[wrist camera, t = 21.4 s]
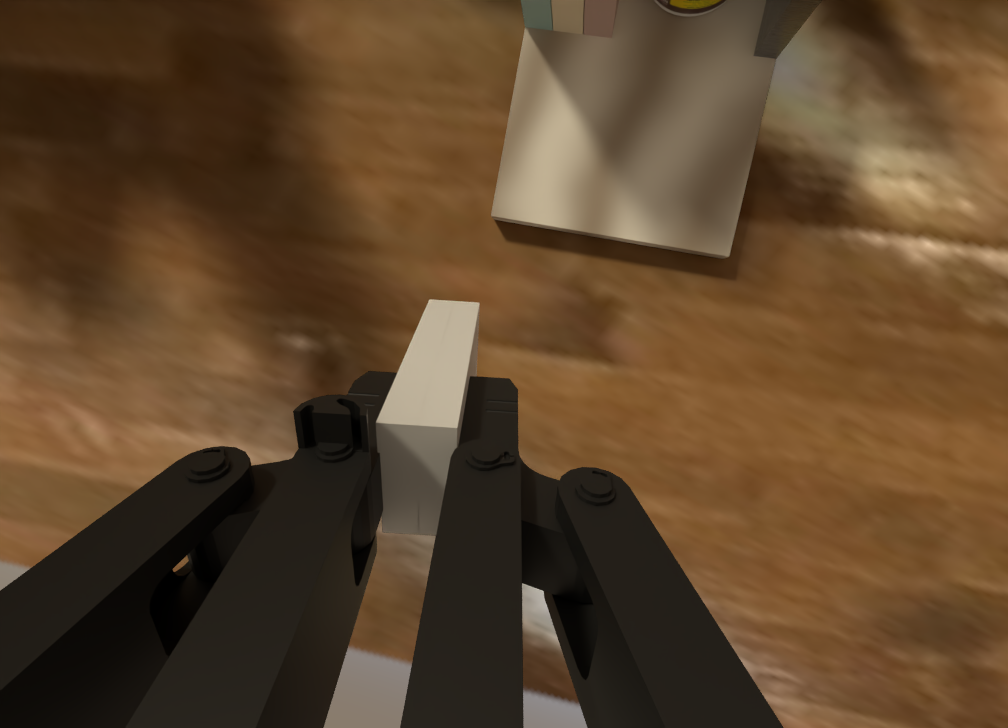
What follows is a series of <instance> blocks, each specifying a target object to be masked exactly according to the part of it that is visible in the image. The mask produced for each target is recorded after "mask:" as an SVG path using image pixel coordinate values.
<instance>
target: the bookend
mask: <svg viewBox="0 0 1008 728" xmlns="http://www.w3.org/2000/svg"><path fill="white" fill-rule="evenodd" d="M821 1H822V0H766V4H765V8H764V13H763V17H762V21H761V26H760V30H759V34H758V38H757V43H756V47H755V51H754V56H758V57H766V58H774V59H776V58H777V57H778V56H779V54H780V53H781V52H782V51H783V49H784V48H785V47H786V45H787V44H788V43H789V42H790V40H791V39H792V38H793V36H794V35H795V34H796V33H797V31H798V30H799V29H800V27H801V26H802V25H803V24H804V22H805V21H806V20H807V19H808V17H809V16H810V15H811V13H812V12H813V11H814V10H815V8H816V7H817V6H818V4H819V3H820V2H821Z"/></svg>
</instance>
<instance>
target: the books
mask: <svg viewBox="0 0 1008 728" xmlns="http://www.w3.org/2000/svg"><path fill="white" fill-rule="evenodd" d="M618 4H619V0H521V5H522V11H523V17H524V23H525V27H528V28H536V29H544V30H552V31H560V32H568V33H575V34H583V31H584V35H591V36H599V37H607V38H612V34H613V29H614V24H615V19H616V14H617V9H618Z"/></svg>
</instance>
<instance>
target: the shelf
mask: <svg viewBox="0 0 1008 728" xmlns="http://www.w3.org/2000/svg"><path fill="white" fill-rule="evenodd" d="M765 4H766V0H727V1H726V2H725V3H724V4H723V5H721V6H720V7H718V8H717V9H715V10H713V11H711V12H709V13H706V14H703V15H699V16H690V17H686V16H678V15H674V14H672V13H669V12H667V11H665V10H664V9H662V8H661V7H660V6H659V5H658V4H657V3H656V2H655V1H654V0H619V4H618V9H617V14H616V19H615V24H614V29H613V34H612V38H607V37H599V36H591V35H584V31H583V34H575V33H568V32H560V31H552V30H544V29H536V28H528V27H525V31H524V37H523V42H522V48H521V53H520V59H519V64H518V70H517V75H516V81H515V86H514V92H513V97H512V103H511V108H510V114H509V119H508V125H507V130H506V136H505V141H504V147H503V152H502V158H501V163H500V169H499V174H498V180H497V185H496V191H495V196H494V202H493V207H492V213H491V217H492V218H493V219H494V220H499V221H505V222H511V223H517V224H522V225H528V226H534V227H540V228H546V229H552V230H557V231H563V232H569V233H575V234H581V235H586V236H592V237H598V238H604V239H610V240H616V241H621V242H627V243H633V244H639V245H645V246H650V247H656V248H662V249H668V250H674V251H680V252H685V253H691V254H697V255H703V256H709V257H714V258H720V259H724V258H727V257H729V255H730V251H731V247H732V243H733V238H734V234H735V230H736V226H737V221H738V217H739V213H740V209H741V205H742V200H743V196H744V192H745V188H746V184H747V179H748V175H749V171H750V167H751V162H752V158H753V154H754V150H755V146H756V141H757V137H758V133H759V129H760V124H761V120H762V116H763V112H764V108H765V103H766V99H767V95H768V91H769V87H770V82H771V78H772V74H773V70H774V65H775V61H776V59H774V58H766V57H758V56H754V51H755V47H756V43H757V38H758V34H759V30H760V26H761V21H762V17H763V13H764V8H765Z"/></svg>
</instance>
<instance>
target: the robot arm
mask: <svg viewBox="0 0 1008 728" xmlns="http://www.w3.org/2000/svg"><path fill="white" fill-rule="evenodd" d="M479 306H480V303H476V302H461V301H445V300H430V299H429V302H428V304H427V306H426V308H425V311H424V313H423V315H422V318H421V320H420V322H419V324H418V327H417V329H416V331H415V334H414V336H413V338H412V341H411V343H410V345H409V347H408V350H407V352H406V354H405V357H404V359H403V361H402V364H401V366H400V368H399V370H398V373H391V372H375V371H368V372H367V373H365V374H364V375H363V376H361V377H360V378H358V379H357V380H355V381H354V383H353V385H352V387H351V388H350V390H349V392H348V394H347V395H346V396H345V395H326V396H321V397H317V398H313V399H311V400H309V401H306V402H304V403H302V404H301V405H299V406H298V407H297V408H296V409H295V410H294V411H293V413H294V420H295V427H296V433H297V440H298V447H299V449H298V450H297V452H296V453H295V455H294V457H293V458H292V459H289V460H285V461H280V462H274V463H267V464H260V465H253V466H251V462H250V458H249V457H248V455H247V454H246V452H245V451H242V450H240V449H238V448H235V447H225V446H220V447H211V448H206V449H203V450H200V451H196V452H193V453H190V454H189V455H187V456H185V457H183V458H182V459H180V460H178V461H176V462H175V463H174V464H172V465H171V466H170V467H168V468H167V469H166V470H164V471H163V472H161V473H160V474H159V475H157V476H156V477H155V478H153V479H152V480H151V481H149V482H148V483H146V484H145V485H144V486H142V487H141V488H140V489H138V490H137V491H136V492H134V493H133V494H131V495H130V496H129V497H127V498H126V499H125V500H123V501H122V502H121V503H119V504H118V505H117V506H115V507H114V508H112V509H111V510H110V511H108V512H107V513H106V514H104V515H103V516H102V517H100V518H99V519H97V520H96V521H95V522H93V523H92V524H91V525H89V526H88V527H87V528H85V529H84V530H82V531H81V532H80V533H78V534H77V535H76V536H74V537H73V538H72V539H70V540H69V541H67V542H66V543H65V544H63V545H62V546H61V547H59V548H58V549H57V550H55V551H54V552H52V553H51V554H50V555H48V556H47V557H46V558H44V559H43V560H42V561H40V562H39V563H37V564H36V565H35V566H33V567H32V568H31V569H29V570H28V571H27V572H25V573H24V574H22V575H21V576H20V577H18V578H17V579H16V580H14V581H13V582H12V583H10V584H9V585H8V586H6V587H5V588H3V589H2V590H1V591H0V728H323V727H324V724H325V720H326V717H327V714H328V711H329V707H330V704H331V701H332V698H333V694H334V691H335V688H336V685H337V681H338V678H339V675H340V671H341V668H342V665H343V661H344V658H345V655H346V652H347V648H348V645H349V642H350V638H351V635H352V632H353V629H354V625H355V622H356V619H357V615H358V612H359V609H360V606H361V602H362V599H363V596H364V592H365V589H366V586H367V583H368V579H369V576H370V573H371V569H372V566H373V563H374V560H375V556H376V552H377V538H376V530H377V527H378V524H379V521H380V518H381V515H382V531H383V532H384V533H400V534H416V535H433V536H436V539H435V544H434V549H433V555H432V560H431V566H430V571H429V576H428V582H427V587H426V592H425V598H424V603H423V608H422V614H421V619H420V625H419V630H418V635H417V641H416V646H415V651H414V657H413V662H412V667H411V673H410V678H409V684H408V689H407V694H406V700H405V706H404V711H403V716H402V721H401V726H400V728H523V645H522V583H524V584H526V585H529V586H532V587H535V588H537V589H540V590H543V591H544V598H545V601H546V604H547V607H548V610H549V613H550V616H551V619H552V622H553V625H554V628H555V631H556V634H557V637H558V640H559V643H560V646H561V649H562V652H563V655H564V658H565V661H566V664H567V667H568V670H569V673H570V676H571V679H572V682H573V685H574V688H575V691H576V694H577V697H578V700H579V703H580V706H581V709H582V712H583V715H584V718H585V721H586V724H587V727H588V728H783V726H782V724H781V723H780V721H779V720H778V718H777V717H776V715H775V713H774V712H773V710H772V709H771V707H770V706H769V704H768V703H767V701H766V699H765V698H764V696H763V695H762V693H761V692H760V690H759V689H758V687H757V685H756V684H755V682H754V681H753V679H752V678H751V676H750V674H749V673H748V671H747V670H746V668H745V667H744V665H743V664H742V662H741V660H740V659H739V657H738V656H737V654H736V653H735V651H734V649H733V648H732V646H731V645H730V643H729V642H728V640H727V639H726V637H725V635H724V634H723V632H722V631H721V629H720V628H719V626H718V624H717V623H716V621H715V620H714V618H713V617H712V615H711V614H710V612H709V610H708V609H707V607H706V606H705V604H704V603H703V601H702V600H701V598H700V596H699V595H698V593H697V592H696V590H695V589H694V587H693V585H692V584H691V582H690V581H689V579H688V578H687V576H686V575H685V573H684V571H683V570H682V568H681V567H680V565H679V564H678V562H677V560H676V559H675V557H674V556H673V554H672V553H671V551H670V550H669V548H668V546H667V545H666V543H665V542H664V540H663V539H662V537H661V536H660V534H659V532H658V531H657V529H656V528H655V526H654V525H653V523H652V521H651V520H650V518H649V517H648V515H647V514H646V512H645V511H644V509H643V507H642V506H641V504H640V503H639V501H638V500H637V498H636V496H635V495H634V493H633V492H632V490H631V489H630V487H629V486H628V485H627V484H626V483H625V482H624V481H623V480H622V479H621V478H620V477H618V476H616V475H614V474H613V473H611V472H609V471H606V470H602V469H598V468H589V467H581V468H577V469H573V470H570V471H568V472H567V473H566V474H564V475H563V476H562V477H561V479H560V481H559V480H556V479H553V478H549V477H546V476H544V475H541V474H539V473H537V472H535V471H533V470H532V469H530V468H529V467H528V466H527V465H526V464H525V463H523V461H522V459H521V458H520V456H519V451H518V389H517V388H516V387H515V385H514V384H513V383H512V381H511V380H510V379H507V378H491V377H476V376H477V352H478V329H479ZM186 555H187V556H188V559H189V561H188V562H187V563H186V564H185V565H184V566H183V567H182V568H180V569H179V570H178V571H176V572H173V570H172V569H173V568H174V567H175V566H176V565H177V564H178V563H179V562H180V561H181V560H182V559H183V558H184V557H185V556H186Z"/></svg>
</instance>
